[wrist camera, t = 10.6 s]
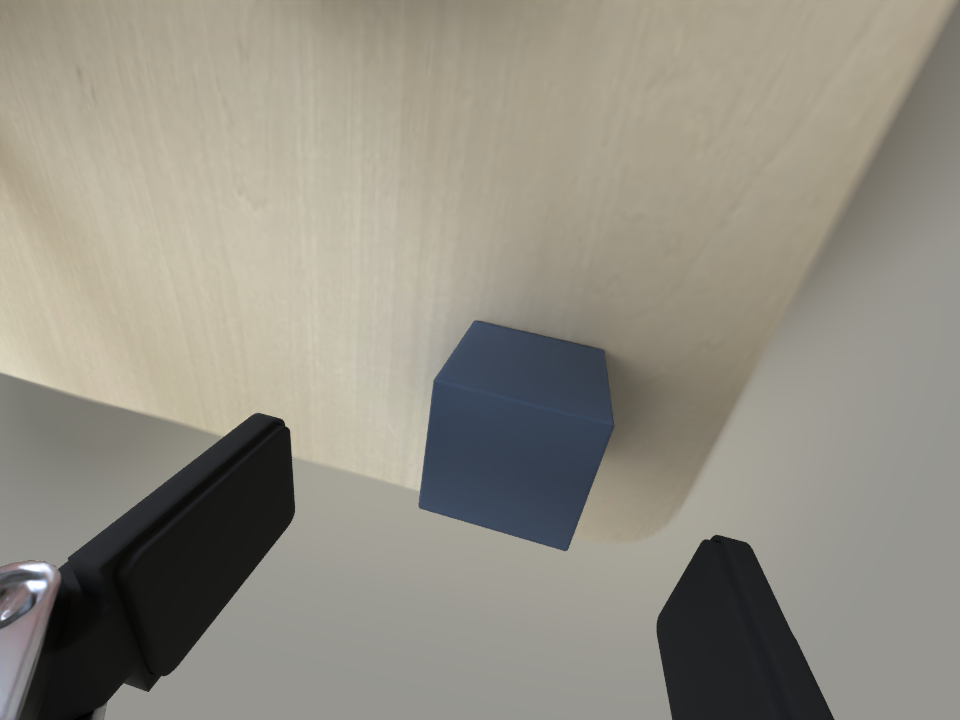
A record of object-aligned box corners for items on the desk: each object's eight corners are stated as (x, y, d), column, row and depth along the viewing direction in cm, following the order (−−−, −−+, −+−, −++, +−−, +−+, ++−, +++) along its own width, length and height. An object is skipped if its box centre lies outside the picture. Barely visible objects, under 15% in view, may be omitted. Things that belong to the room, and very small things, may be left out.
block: (605, 349, 13) (615, 425, 9) (570, 454, 15) (567, 553, 11) (474, 319, 14) (432, 379, 10) (457, 424, 16) (417, 508, 12)
